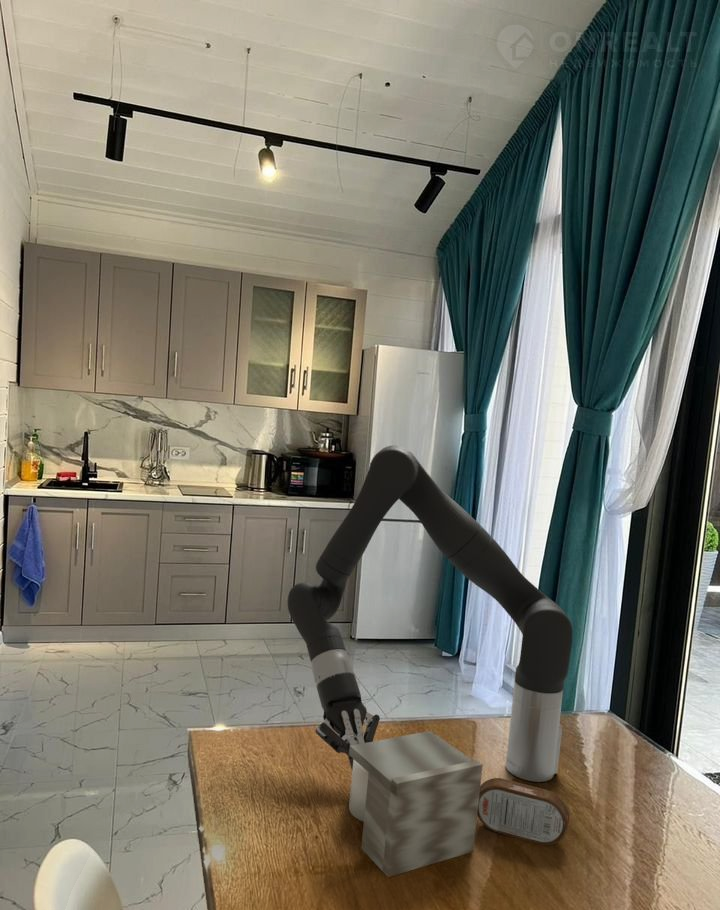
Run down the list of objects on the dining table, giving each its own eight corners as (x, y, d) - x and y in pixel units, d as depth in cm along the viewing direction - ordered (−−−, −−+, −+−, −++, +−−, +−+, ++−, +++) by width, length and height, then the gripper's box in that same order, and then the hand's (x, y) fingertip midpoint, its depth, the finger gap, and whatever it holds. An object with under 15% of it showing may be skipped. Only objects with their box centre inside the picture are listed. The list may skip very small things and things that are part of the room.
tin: (566, 843, 118) (572, 793, 118) (565, 854, 115) (571, 803, 115) (474, 819, 123) (479, 770, 123) (471, 828, 120) (476, 779, 120)
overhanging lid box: (422, 807, 125) (430, 728, 124) (473, 851, 114) (482, 764, 113) (341, 827, 117) (350, 742, 116) (387, 877, 105) (397, 783, 104)
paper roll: (382, 791, 129) (387, 747, 129) (412, 817, 122) (417, 771, 121) (339, 801, 124) (343, 755, 124) (366, 829, 117) (371, 780, 116)
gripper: (311, 674, 131) (338, 772, 121) (373, 667, 138) (403, 759, 128) (296, 692, 136) (320, 787, 126) (356, 684, 143) (384, 774, 133)
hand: (362, 773), depth 127 cm, fingers closed
